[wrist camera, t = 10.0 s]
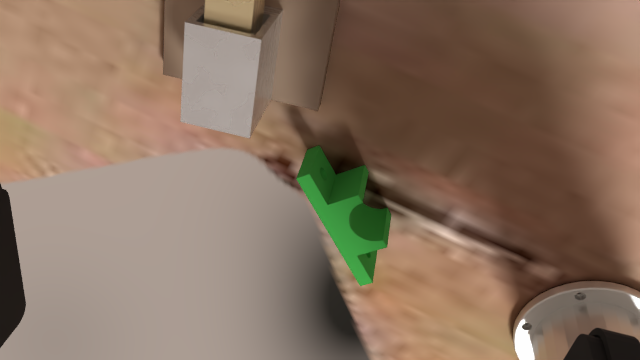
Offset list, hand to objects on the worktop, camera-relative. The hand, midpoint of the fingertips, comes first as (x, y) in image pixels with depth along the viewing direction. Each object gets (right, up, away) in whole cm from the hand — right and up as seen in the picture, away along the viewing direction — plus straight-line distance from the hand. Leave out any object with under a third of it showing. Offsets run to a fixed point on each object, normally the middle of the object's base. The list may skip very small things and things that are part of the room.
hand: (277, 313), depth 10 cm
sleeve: (-5, +12, +34) cm, 36 cm away
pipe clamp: (+4, +1, +41) cm, 41 cm away
